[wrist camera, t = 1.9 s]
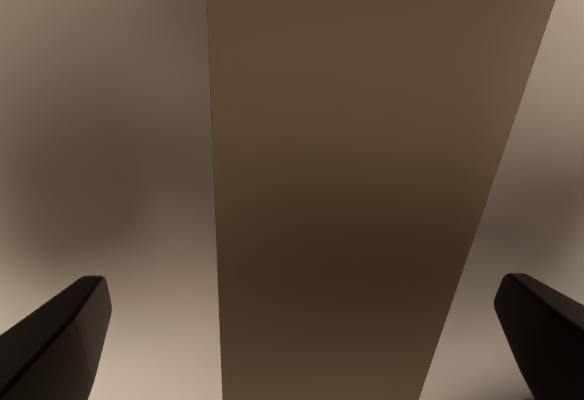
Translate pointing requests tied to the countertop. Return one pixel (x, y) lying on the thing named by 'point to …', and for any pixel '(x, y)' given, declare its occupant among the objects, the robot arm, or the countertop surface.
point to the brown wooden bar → (353, 181)
